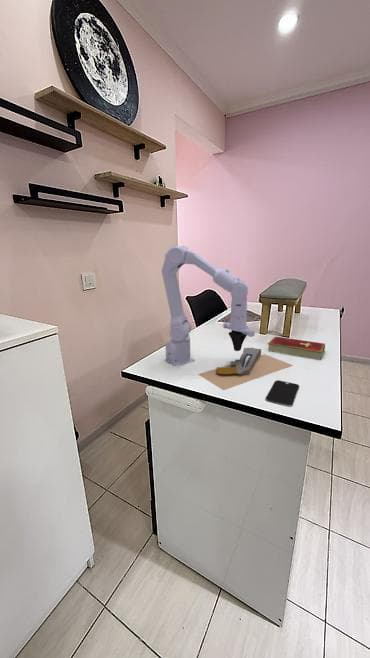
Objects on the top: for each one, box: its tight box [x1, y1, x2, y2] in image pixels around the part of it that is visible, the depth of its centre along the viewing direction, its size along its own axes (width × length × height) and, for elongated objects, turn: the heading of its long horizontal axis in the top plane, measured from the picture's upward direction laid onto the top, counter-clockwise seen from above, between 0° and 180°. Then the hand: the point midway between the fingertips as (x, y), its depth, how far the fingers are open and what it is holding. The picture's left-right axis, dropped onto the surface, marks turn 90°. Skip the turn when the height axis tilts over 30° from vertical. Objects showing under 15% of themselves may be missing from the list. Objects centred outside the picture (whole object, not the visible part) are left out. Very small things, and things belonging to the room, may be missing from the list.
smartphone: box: [264, 379, 300, 408], centre depth 85 cm, size 8×1×15 cm
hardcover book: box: [267, 335, 326, 361], centre depth 119 cm, size 12×21×4 cm, turn 57°
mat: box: [197, 353, 294, 391], centre depth 102 cm, size 34×14×1 cm, turn 122°
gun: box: [215, 347, 262, 375], centre depth 106 cm, size 3×25×15 cm
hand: (237, 350), depth 104 cm, fingers closed
